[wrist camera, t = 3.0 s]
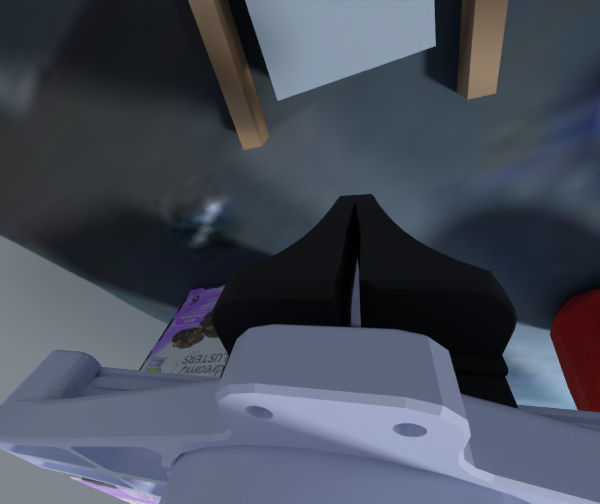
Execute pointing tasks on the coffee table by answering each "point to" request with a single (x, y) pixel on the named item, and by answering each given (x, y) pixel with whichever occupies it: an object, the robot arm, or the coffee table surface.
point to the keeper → (336, 37)
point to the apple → (580, 348)
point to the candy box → (180, 362)
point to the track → (242, 94)
